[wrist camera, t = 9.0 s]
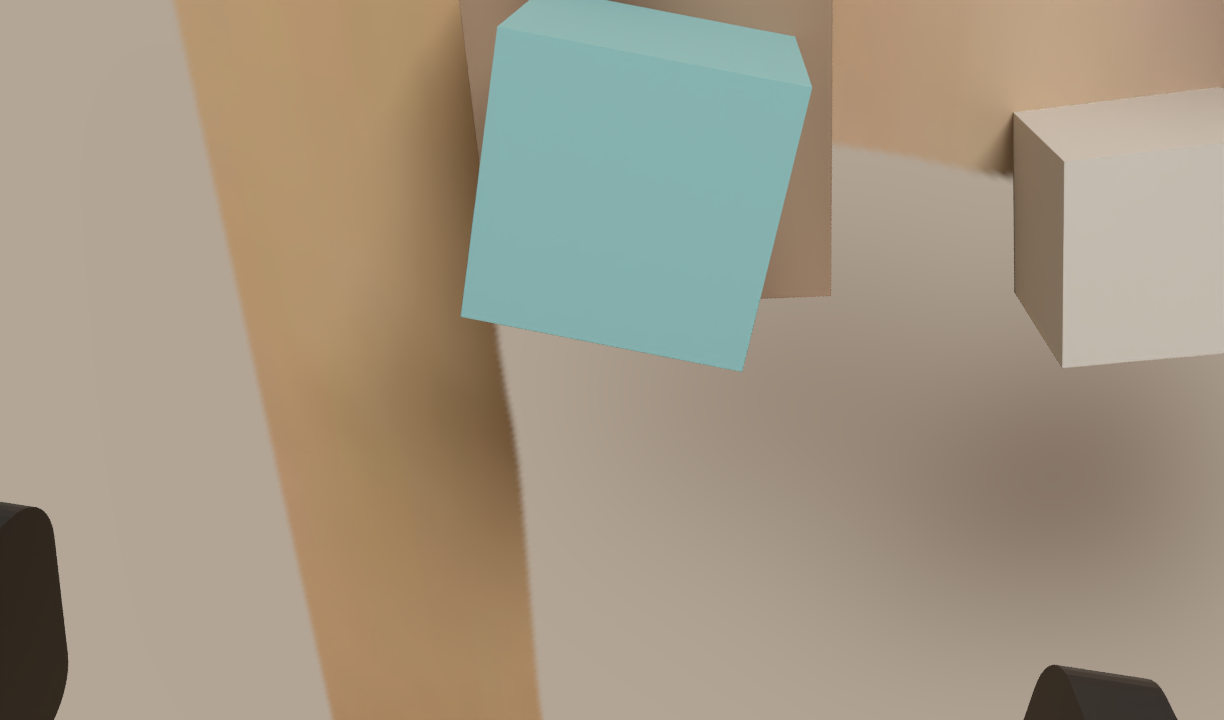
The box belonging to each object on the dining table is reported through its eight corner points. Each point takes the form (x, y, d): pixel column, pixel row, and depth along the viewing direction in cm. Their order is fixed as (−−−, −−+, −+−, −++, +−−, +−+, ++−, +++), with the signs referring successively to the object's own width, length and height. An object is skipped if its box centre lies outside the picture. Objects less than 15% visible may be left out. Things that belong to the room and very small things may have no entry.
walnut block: (815, -81, 28) (832, -65, 24) (815, 230, 31) (830, 295, 27) (496, -58, 29) (454, -39, 25) (529, 242, 32) (497, 307, 28)
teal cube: (795, 36, 25) (812, 87, 20) (739, 272, 27) (741, 372, 22) (543, -12, 25) (497, 26, 20) (509, 227, 27) (460, 316, 22)
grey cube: (1218, 86, 29) (1310, 132, 24) (1206, 272, 31) (1289, 347, 26) (1012, 112, 30) (1064, 161, 25) (1014, 291, 32) (1062, 368, 27)
